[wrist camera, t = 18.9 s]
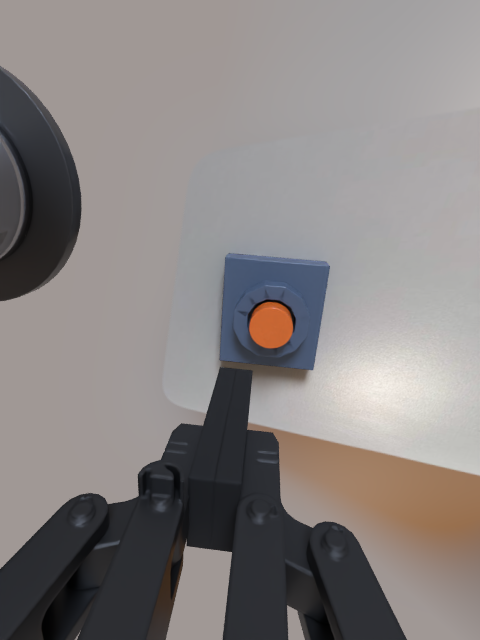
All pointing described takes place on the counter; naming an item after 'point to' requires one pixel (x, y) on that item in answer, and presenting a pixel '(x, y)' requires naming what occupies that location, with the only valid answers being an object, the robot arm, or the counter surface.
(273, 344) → the button
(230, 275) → the button box
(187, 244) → the counter surface
